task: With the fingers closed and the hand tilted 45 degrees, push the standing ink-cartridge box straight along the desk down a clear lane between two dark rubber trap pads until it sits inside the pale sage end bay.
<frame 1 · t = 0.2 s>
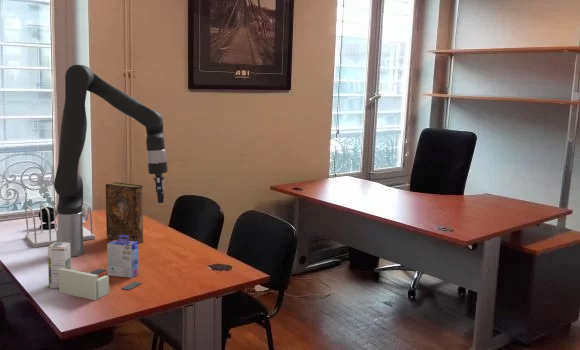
hand: (161, 201, 223), 22 cm above the table, tool pointing down, fingers open, 8 cm apart
file sorter: (60, 239, 243), on the table
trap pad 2: (131, 286, 190), on the table
syrup box: (60, 285, 189), on the table
architectural model: (95, 222, 273), on the table
webcam: (48, 228, 260), on the table
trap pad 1: (96, 272, 202), on the table
ink cartridge box: (123, 275, 201), on the table
book: (126, 240, 243), on the table
end bay: (86, 292, 184), on the table
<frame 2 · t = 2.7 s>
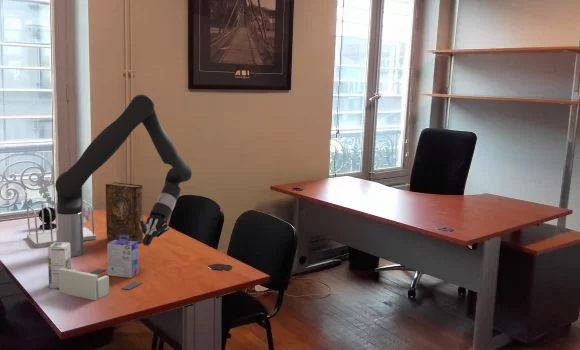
hand: (145, 244, 212), 8 cm above the table, tool tilted 45°, fingers closed
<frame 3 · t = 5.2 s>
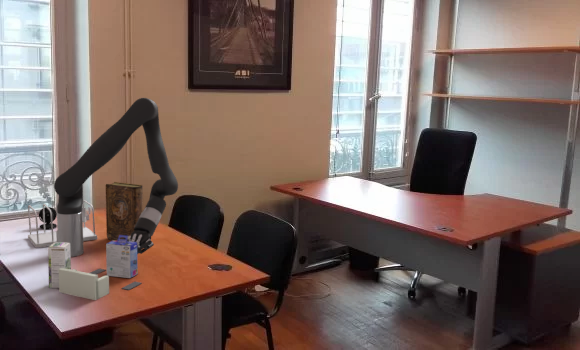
hand: (128, 261, 203), 4 cm above the table, tool tilted 45°, fingers closed
ink cartridge box: (122, 275, 201), on the table, touching gripper
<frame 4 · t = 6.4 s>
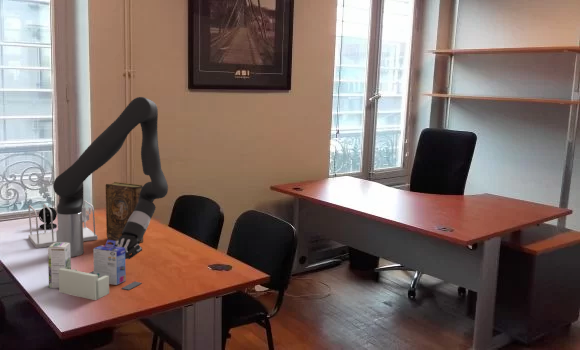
hand: (115, 267, 197), 4 cm above the table, tool tilted 45°, fingers closed
ink cartridge box: (110, 281, 194), on the table, touching gripper
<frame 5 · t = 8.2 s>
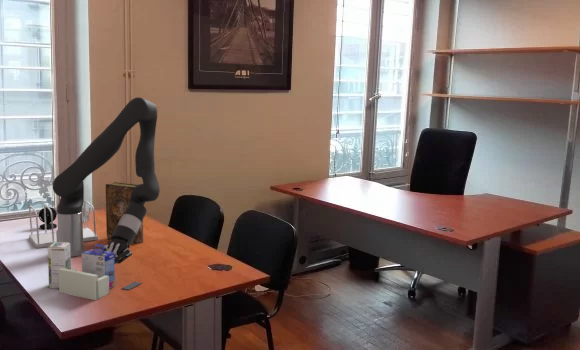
hand: (104, 272, 192), 4 cm above the table, tool tilted 45°, fingers closed
ink cartridge box: (99, 286, 189), on the table, touching gripper
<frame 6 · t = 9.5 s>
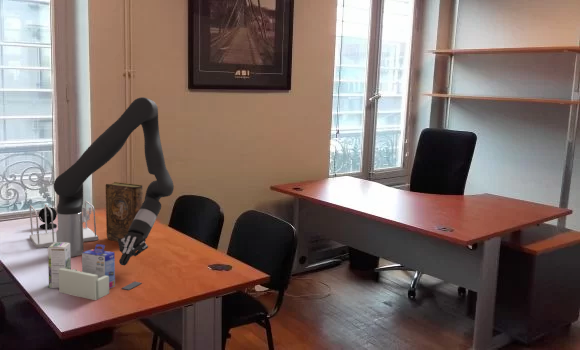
hand: (122, 264, 200), 4 cm above the table, tool tilted 45°, fingers closed
ink cartridge box: (99, 287, 189), on the table
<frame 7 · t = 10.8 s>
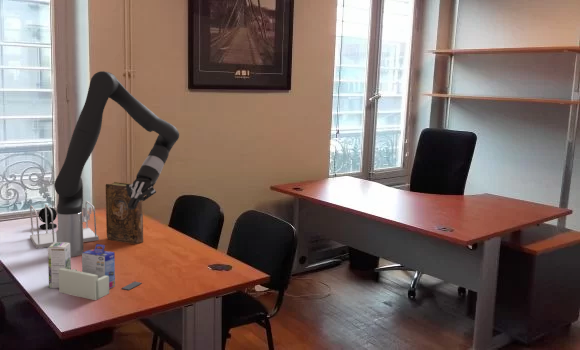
hand: (130, 208, 202), 24 cm above the table, tool tilted 45°, fingers closed
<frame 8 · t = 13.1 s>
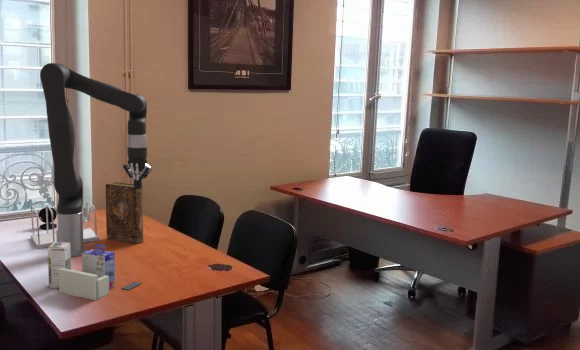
hand: (137, 188, 221), 27 cm above the table, tool pointing down, fingers closed
at the end: ink cartridge box inside the target area (1.9 cm from its centre), on the table; ink cartridge box tilted 0°; ink cartridge box moved 13.1 cm from its start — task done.
